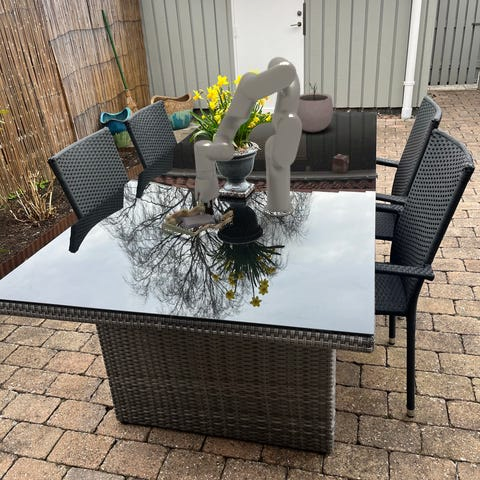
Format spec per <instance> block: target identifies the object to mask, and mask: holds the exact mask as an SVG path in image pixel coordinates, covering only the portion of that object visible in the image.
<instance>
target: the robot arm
mask: <svg viewBox="0 0 480 480" xmlns="http://www.w3.org/2000/svg"><path fill="white" fill-rule="evenodd" d="M276 93H277V94H276ZM274 94H276V99H275V105H274V110H273V115H272V118H271V125H272V127H273V129H274V131H275V134H273V135H271V136H269V138H268V139H267V140H266V142H265V144H264V157H265V168H266V169H265V170H266V177H265V178H266V204H264V206H263V213H264V214H266V215H268V216H272V217H285V216H289V215H291V214H293V212H294V209H295V208H294V205H292V204H291V203H292V201H293V200H294V199H295V197H296V196H295V195H294V194H291V165H292V164H293V163H294V162H295V160H296V157H297V154H298V153H297V152H298V150H299V145H300V142H301V141H300V140H301V137H302V132H303V129H302V123H301V120H300V118H299V117H298V116H297V110H298V104H299V98H300V95H301V82H300V78H299V75H298V73H297V69H296V66H295V65H294V63H292V62H291V61H289V60H288V59H286V58H284V57H282V56H275V57H273V58H271V60H270V61H269V62H268V64H267V69H266V70H263V71H261V72H259V73H257V72H253V71H252V72H251V71H250V72H245V73H244V74H243V75H242V76H241V78H240V80H239V81H238V85H237V86H236V89H235V92H234V93H233V96H232V99H231V101H230V103H229V106H228V108H227V111H226V112H225V114H224V116H223V117H222V119H221V121H220V123H219V125H218V127H217V130H216V132H215V135H214V136H213V137H214V138H213V140H212V141H211V140H209V139H208V140H207V139H206V140H205V139H202V140H198V141H196V142H195V143H194V145H193V149H194V160H195V170H196V171H195V172H196V177H195V179H194V180H195V181H194V198H195V201H197V202H198V203H197V204H198V205H199V206H205V210H204V211H205V212H204V214H209V215H211V217H212V216H214V215H215V212H214V206H215V201H216V199H218V197H219V195H220V185H219V179H218V175H217V172H216V170H217V169H216V168H217V167H216V162H218V161H219V162H228V161H231V160H232V159H233V158H234V156H235V154H236V150H235V148H234V145H233V141H234V139H235V136H236V134H237V132H238V130H239V128H240V127H241V126H243V124H245V123H246V122H247V121H249V119H250V116H251V114H252V113H253V110H254V108H255V105H256V103H257V101H260V100H263V99H265V98H267V97H270V96H272V95H274ZM215 161H216V162H215ZM198 205H197V206H198ZM267 210H269V211H271V212H286V213H287V214H282V215H274V214H269V213H267V212H265V211H267ZM289 212H290V213H289Z"/></svg>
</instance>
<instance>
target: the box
mask: <svg viewBox="0 0 480 480" xmlns="http://www.w3.org/2000/svg"><path fill="white" fill-rule="evenodd" d="M349 160H350V156H349V155H346V154H340V153H339V154H337V155H334V156H333V157H332V165H331V166H332V167H331V169H332V170H331V171H332V172H334V173H338V174H345V173H346V172H348V171H349V166H350V165H349V163H350V161H349Z"/></svg>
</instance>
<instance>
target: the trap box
mask: <svg viewBox="0 0 480 480" xmlns="http://www.w3.org/2000/svg"><path fill="white" fill-rule="evenodd" d="M204 211H205V206H199V205H196V206H194V207H192V208H190V209H185V208H183V207H182V208H181V209H179V210H177V211H175V212H173V213H171V214H170V215H168V216H166V217H165V222H163V223H162V229H163V232H165V233H167V234H171V235H173V234H175V233H174V232H171V231H175V232H178V233H182V234H186V235H190V236H195V235H197V234H198V233H200V232H202V231H204V230H206V229H208V228H212V229H215V230H217V229H219V228H220V227H222V226H224V225H226V224H227V223H229V222H231V221H232V223H230V225H231V224H232V225H233V218H234V212H233V210H229V211H227V212H226V213H224V214H222V215H221V222H220V223H218V224H215V226H214V225H211V224H207V225H206V226H204V227H202V228H201V229H199V230H197V231H196V232H192V231H189V230H186V229H185V228H184V227H183V228H182V227H179V226H177V225H178V224H180V223H181V222H183V218H186V217H195V216H196V215H199V214H200V213H202V212H204ZM232 215H233V216H232ZM230 216H231V217H230ZM222 220H224V221H222ZM232 225H231V226H232ZM165 229H167V230H165ZM168 230H171V231H168Z"/></svg>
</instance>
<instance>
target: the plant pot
mask: <svg viewBox="0 0 480 480" xmlns="http://www.w3.org/2000/svg"><path fill="white" fill-rule="evenodd" d="M308 84H309V86H310V87H311V88H310V89H311V90H313V92H311V93H302V94H300V98H299V104H298V110H297V116H298V117H299V118H300V120H301V123H302V131H305V132H309V133H317V132H321V131H322V130H325V129H326V128H327V127H328V126H329V125H330V123H331V122H332V119H333V117H334V104H333V100H332V99H333V98H332V95H331V94H326V93H320V92H316V91H317V89H318V87H317V83H314V86H312V84H311V82H308Z"/></svg>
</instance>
